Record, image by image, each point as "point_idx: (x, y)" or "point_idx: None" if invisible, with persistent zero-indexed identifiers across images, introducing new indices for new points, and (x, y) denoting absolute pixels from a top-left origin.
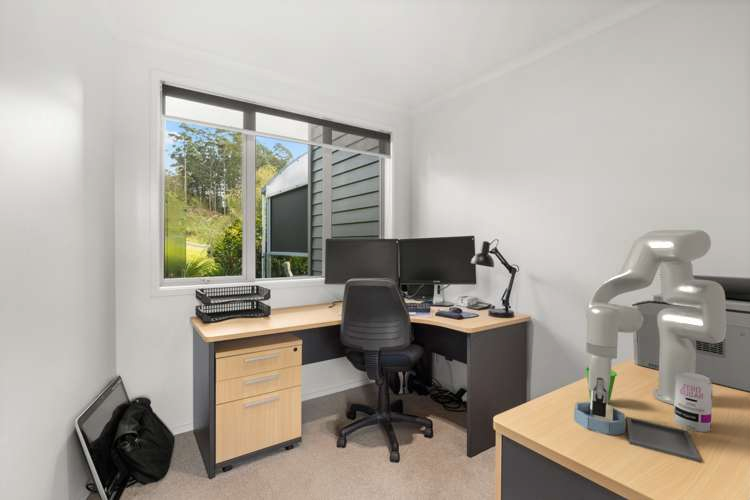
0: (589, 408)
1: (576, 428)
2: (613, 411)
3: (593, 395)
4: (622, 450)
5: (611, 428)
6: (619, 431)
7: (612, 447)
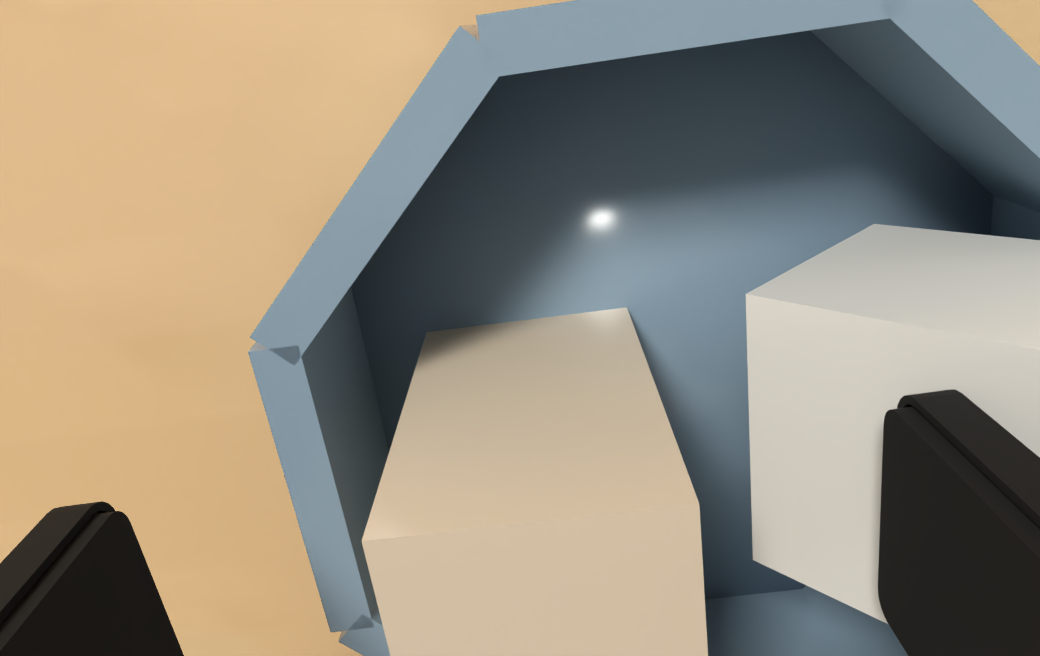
0: (1022, 198)
1: (279, 103)
2: None
3: (1009, 485)
4: None
5: None
6: None
7: None
